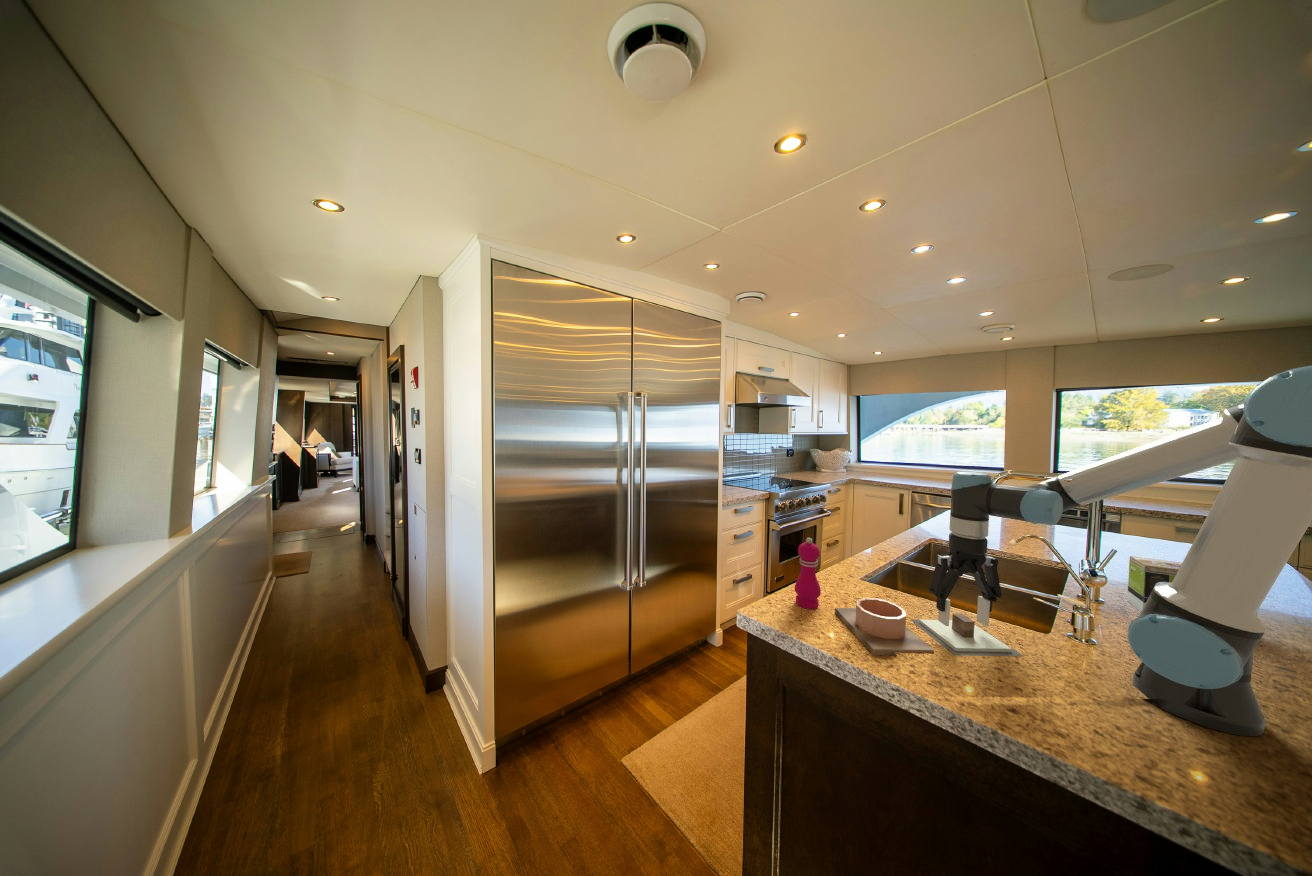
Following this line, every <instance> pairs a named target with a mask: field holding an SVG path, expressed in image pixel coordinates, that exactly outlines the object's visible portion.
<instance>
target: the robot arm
mask: <svg viewBox="0 0 1312 876" xmlns="http://www.w3.org/2000/svg"><path fill="white" fill-rule="evenodd" d="M1234 461H1235V462H1234ZM1230 462H1234V465H1233V467H1232V469H1231V470H1230V473H1229V474H1228V476H1227V477H1226V479H1225V482H1224V484H1223V485H1222V487H1221V489H1220V491H1219V493H1218V495H1217V497H1216V499H1215V500H1214V502H1213V504H1212V506H1211V509H1210V510H1209V512H1208V513H1207V516H1206V518H1205V520H1204V522H1203V523H1202V525H1201V527H1200V529H1199V530H1198V533H1197V535H1196V537H1195V538H1194V540H1193V541H1192V544H1191V546H1190V547H1189V549H1188V552H1187V554H1186V555H1185V557H1184V559H1183V561H1182V562H1181V563H1182V565H1181V567H1180V569H1179V570H1178V572H1177V574H1176V576H1175V578H1174V580H1173V582H1172V583H1170V582H1158V583H1156V584H1155V587H1154V588H1153V590H1152V592H1151V594H1150V596H1149V598H1148V600H1147V602H1146V603H1145V605H1144V607H1143V609H1142V611H1141V612H1140V614H1139V615H1138V617H1136V618H1134V620H1131V622H1130V624H1129V625H1128V630H1127V641H1128V643H1129V646H1130V648H1131V650H1132V651H1133V652H1134V654H1135V656H1136V657H1137V658H1138V659H1139V660H1140V662H1141V663H1140V664H1139V666H1138V667H1137V668H1136V670H1135V671H1134V672H1133V678H1132V686H1133V687H1135V688H1136V689H1138V691H1140V692H1141V693H1142V694H1143V695H1145V696H1146V697H1147V698H1145V700H1147V701H1148V702H1149V703H1151V704H1153V705H1154V706H1156V707H1158V708H1160V709H1162V710H1164V711H1166V712H1168V713H1171V714H1172V715H1175V716H1177V717H1179V718H1180V719H1184V720H1186V721H1188V722H1191V723H1194V724H1197V725H1200V726H1202V727H1206V728H1209V729H1211V730H1214V731H1218V732H1219V731H1220V732H1223V733H1226V734H1232V735H1236V736H1244V737H1258V736H1262V735H1263V734H1264V733H1265V727H1266V718H1265V716H1264V714H1263V713H1262V710H1261V707H1260V705H1259V702H1258V699H1257V696H1256V694H1255V692H1254V689H1253V687H1252V684H1251V683H1252V673H1253V663H1254V652H1255V649H1256V647H1257V646H1258V644H1259V642H1260V641H1261V640H1262V637H1263V636H1264V634H1265V632H1266V631H1267V627H1266V625H1265V624H1264V623H1263V622H1262V621H1261V619H1260V618H1259V617H1258V610H1259V609H1260V607H1261V605H1262V604H1263V603H1264V601H1265V599H1266V598H1267V595H1268V594H1269V592H1270V591H1271V590H1272V588H1273V586H1274V584H1275V583H1276V581H1277V579H1278V578H1279V576H1280V574H1281V572H1282V571H1283V569H1284V568H1285V566H1286V564H1287V563H1288V561H1289V559H1290V558H1291V556H1292V555H1293V552H1294V551H1295V550H1296V548H1297V546H1298V545H1299V544H1300V541H1301V539H1302V538H1303V536H1304V535H1305V533H1306V531H1307V530H1308V528H1309V526H1310V525H1311V523H1312V365H1307V366H1300V367H1295V368H1291V369H1288V370H1284V371H1282V372H1279V373H1277V374H1274V375H1273V376H1270V377H1267V379H1265V380H1264V381H1262V382H1260V383H1258V384H1257V385H1256V386H1255V388H1253V389H1251V390H1250V392H1249V393H1248V395H1247V396H1246V397H1245V399H1244V402H1242V403H1239V404H1237V405H1235V406H1232V407H1229V408H1226V409H1224V410H1223V411H1222V414H1221V415H1220V417H1219V418H1216V419H1213V420H1211V421H1208V422H1204V423H1202V424H1199V425H1197V426H1194V427H1192V428H1188V429H1185V430H1182V431H1179V432H1177V433H1175V434H1172V435H1169V436H1166V437H1163V438H1160V439H1157V440H1155V441H1152V442H1150V443H1146V444H1144V445H1141V446H1138V447H1136V448H1133V449H1130V450H1127V451H1124V452H1121V453H1119V454H1116V455H1113V456H1110V457H1107V458H1105V459H1102V460H1099V461H1096V462H1094V463H1091V464H1088V465H1086V466H1082V467H1080V468H1076V469H1074V470H1071V471H1069V472H1066V473H1065V472H1064V473H1063V474H1060V475H1058V476H1054V477H1052V478H1049V479H1045V480H1043V481H1039V482H1037V483H1033V484H1028V485H1023V486H1018V485H1007V484H999V483H997V482H996V483H995V482H993V480H992V476H991V475H990V474H989V473H985V472H983V473H982V472H975V471H957V472H955V473H954V474H953V476H952V480H951V481H952V482H951V488H950V494H951V496H950V514H949V527H948V528H949V531H950V533H949V534H948V548H949V553H948V554H947V555H940V554H937V555H936V556H935V566H934V567H935V568H934V570H933V574H932V577H931V581H930V584H929V588H928V593H930V594H932V595H933V596H935V597H936V609H937V610H938V616H937V617H938V619H937V620H938V621H940V622H941V623H942V624H944V625H945V626H949V620H950V618H951V617H950V615H951V614H950V613H951V599H949V596H950V594H951V592H952V590H953V589H954V587H955V585H956V583H957V582H958V580H959V579H960V577H962V576H963V575H964V574H968V573H970V574H972V577H973V580H974V581H975V583H976V586H977V588H978V589H979V592H980V594H981V595H978V596H977V608H976V609H977V610H976V622H978V623H979V624H981V625H982V626H984V627H985V628H987V627H988V628H989V626H990V625H989V623H990V613H991V612H992V610H993V602H994V603H996V602H997V600H998V599H1000V598H1002V588H1001V583H1000V578H999V572H998V565H999V560H998V559H997V558H995V557H993V556H990V555H986V554H987V553H988V543H989V541H988V539H987V537H988V536H989V528H990V527H989V526H990V516H994V517H1001V518H1005V519H1011V520H1014V521H1015V520H1016V521H1022V522H1027V523H1031V524H1033V525H1036V524H1039V525H1045V526H1053V525H1056V524H1058V522H1059V521H1060V519H1061V518H1062V515H1063V513H1064V512H1066V511H1069V510H1073V509H1075V508H1078V507H1082V506H1085V505H1089V504H1092V503H1095V502H1096V503H1097V502H1098V501H1102V500H1106V499H1108V498H1109V499H1110V498H1112V497H1116V496H1119V495H1122V494H1126V493H1129V492H1133V491H1136V490H1139V489H1142V488H1146V487H1149V486H1153V485H1157V484H1160V483H1163V482H1166V481H1169V480H1173V479H1177V478H1180V477H1182V476H1183V477H1184V476H1187V475H1190V474H1193V473H1196V472H1199V471H1203V470H1206V469H1207V470H1208V469H1210V468H1214V467H1217V466H1220V465H1224V464H1226V463H1230ZM1064 479H1072V480H1066V481H1070V482H1065V481H1064ZM983 566H984V569H983Z"/></svg>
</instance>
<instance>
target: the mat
mask: <svg viewBox="0 0 1312 876" xmlns="http://www.w3.org/2000/svg"><path fill="white" fill-rule="evenodd" d="M909 620H910V621H911V622H912V623H913V624H914V625H916V626H917V627H918V628H920V630H922V631H923V632H925V633H926V634H927V635H928V636H930V637H931V638H932V639H933V640H934V641H936V642H937V643H938V644H939V645H940V646H943V648H945V649H946V650H947V651H948V652H950V654H953V656H978V657H979V656H981V657H982V656H983V657H985V656H987V657H1024V655H1023V654H1022V653H1021V652H1018V651H1017V650H1015V649H1014V648H1012V647H1011V646H1010V645H1008V644H1007V643H1005V642H1003V641H1001V640H1000V639H998V638H997V637H995V636H994V635H992V634H991V633H990V632H987V631H986V630H985V629H983V628H981V626H978V625H977V624H975V625H976V626H978V627H979V628H981V629H982V630H984V631H985V632H987V633H988V634H990V635H991V636H993V637H994V638H996V639H998V640H999V641H1001V642H1002V643H1004V644H1005V645H1007V646H1008V647H1010V648H1011V649H1012V652H973V651H955V650H954V649H952V648H951V647H950V646H949V645H947V644H946V643H945V642H943V641H942V640H941V639H940V638H938V637H937V636H936V635H935V634H933V633H932V632H931V631H929V630H928V629H927V628H926V627H924V626H923V625H922V624H920V623H919V620H920V619H913V618H912V619H909Z"/></svg>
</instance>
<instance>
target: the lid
mask: <svg viewBox="0 0 1312 876" xmlns="http://www.w3.org/2000/svg"><path fill="white" fill-rule="evenodd" d="M918 620H919V623H920V624H922V625H923V626H924V627H926V628H927V629H928V630H929V631H931V632H932V633H933V634H935V635H936V636H937V637H938V638H940V639H941V640H942V641H943V642H945V643H946V644H947V645H949V646H950V647H951V648H952V649H954V650H955V651H973V652H1012V649H1013V648H1012V647H1011V646H1009V645H1008V644H1006V643H1005V642H1003V641H1002V642H1003V643H1002V642H1001V640H1000V639H999V638H997V637H995V636H994V635H992V634H991V633H989V632H988V633H989V634H988V633H987V631H986V630H985V629H983V628H982V629H983V630H982V629H981V627H980V626H979V627H980V628H979V627H978V625H977V624H975V620H973V619H971V618H970V617H968V616H967V615H964V613H952V618H951V619H949V626H945V625H944V624H942V623H941V622H940V621H938V619H918ZM976 625H977V626H976ZM984 630H985V631H986V632H985V631H984ZM990 634H991V635H992V636H991V635H990ZM993 636H994V637H995V638H994V637H993ZM996 638H997V639H996ZM999 640H1000V641H999ZM1004 643H1005V644H1006V645H1005V644H1004ZM1007 645H1008V646H1009V647H1008V646H1007ZM1010 647H1011V648H1012V649H1011V648H1010Z"/></svg>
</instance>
